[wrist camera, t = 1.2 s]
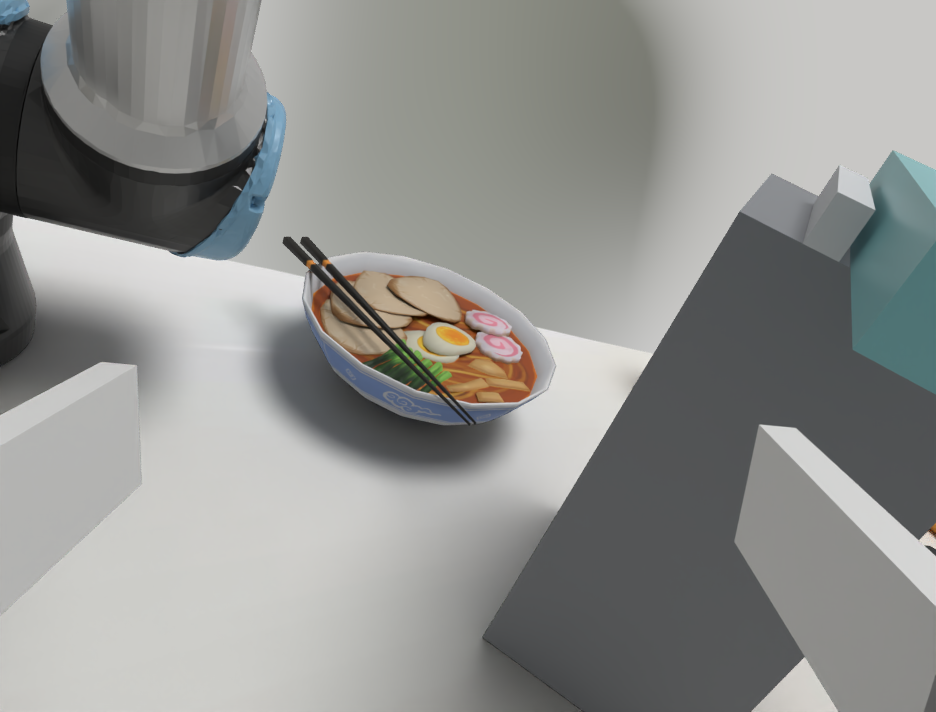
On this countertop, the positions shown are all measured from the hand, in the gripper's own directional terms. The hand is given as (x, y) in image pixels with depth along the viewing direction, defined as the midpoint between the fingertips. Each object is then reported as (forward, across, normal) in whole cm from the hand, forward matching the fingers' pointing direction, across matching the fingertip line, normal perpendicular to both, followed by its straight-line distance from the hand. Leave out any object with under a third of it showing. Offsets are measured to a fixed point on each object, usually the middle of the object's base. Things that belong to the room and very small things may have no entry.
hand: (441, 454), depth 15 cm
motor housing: (+30, +12, -25) cm, 41 cm away
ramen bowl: (+48, -6, -15) cm, 51 cm away
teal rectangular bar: (+17, +18, +2) cm, 25 cm away
